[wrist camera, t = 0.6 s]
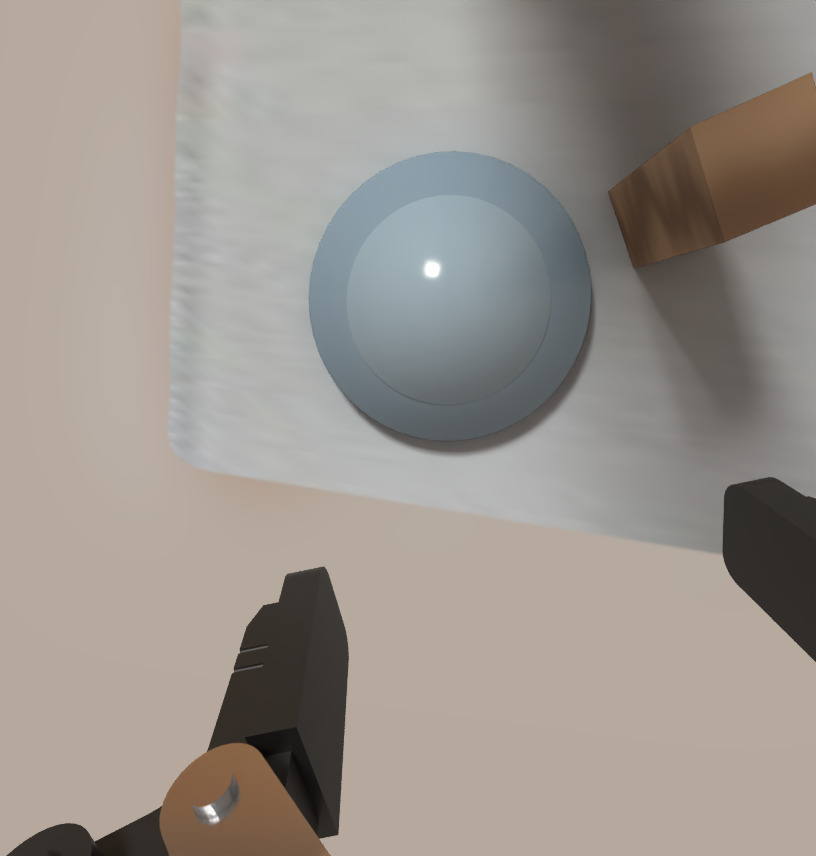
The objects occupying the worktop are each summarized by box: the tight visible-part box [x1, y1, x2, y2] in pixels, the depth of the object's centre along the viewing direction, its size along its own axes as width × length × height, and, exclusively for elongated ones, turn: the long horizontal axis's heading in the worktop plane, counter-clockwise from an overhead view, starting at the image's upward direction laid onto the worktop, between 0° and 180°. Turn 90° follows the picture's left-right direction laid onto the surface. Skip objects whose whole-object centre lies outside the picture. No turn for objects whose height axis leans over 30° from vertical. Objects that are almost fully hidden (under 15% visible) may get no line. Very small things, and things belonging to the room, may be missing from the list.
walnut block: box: [608, 72, 816, 268], centre depth 27 cm, size 5×5×11 cm
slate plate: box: [309, 151, 591, 441], centre depth 34 cm, size 18×18×1 cm
